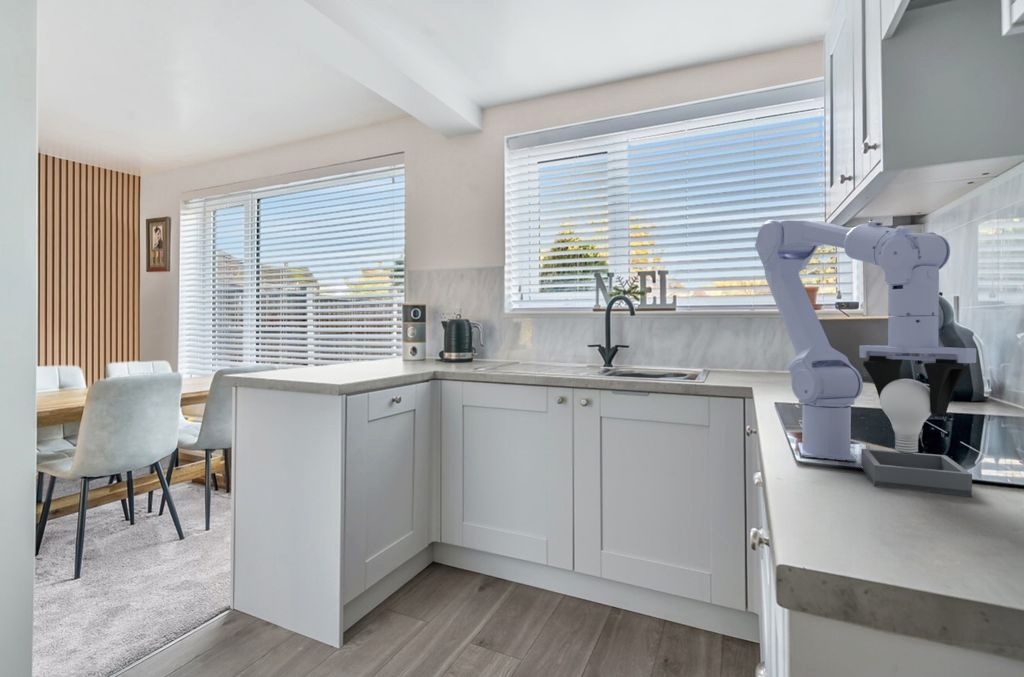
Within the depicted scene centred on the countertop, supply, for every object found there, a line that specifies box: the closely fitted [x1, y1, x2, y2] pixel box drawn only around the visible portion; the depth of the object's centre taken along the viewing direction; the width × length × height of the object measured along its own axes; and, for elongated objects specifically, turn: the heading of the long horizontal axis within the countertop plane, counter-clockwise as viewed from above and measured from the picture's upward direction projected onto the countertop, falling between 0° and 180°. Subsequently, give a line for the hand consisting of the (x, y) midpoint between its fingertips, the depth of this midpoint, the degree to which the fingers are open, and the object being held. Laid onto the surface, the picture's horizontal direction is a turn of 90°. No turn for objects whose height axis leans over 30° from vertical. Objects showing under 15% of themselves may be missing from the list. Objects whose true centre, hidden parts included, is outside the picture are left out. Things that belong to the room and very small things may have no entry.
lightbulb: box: [879, 378, 932, 455], centre depth 73 cm, size 6×6×11 cm
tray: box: [860, 448, 973, 498], centre depth 74 cm, size 11×11×3 cm
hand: (912, 410), depth 73 cm, fingers closed on lightbulb, 6 cm apart
